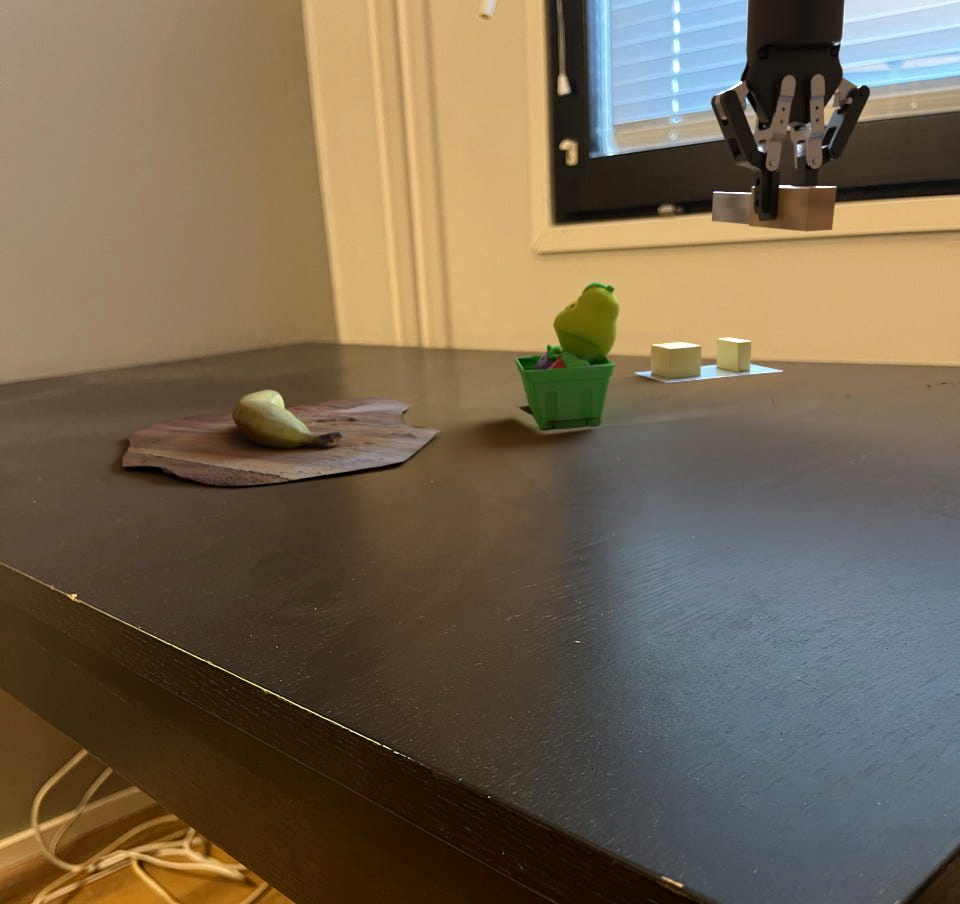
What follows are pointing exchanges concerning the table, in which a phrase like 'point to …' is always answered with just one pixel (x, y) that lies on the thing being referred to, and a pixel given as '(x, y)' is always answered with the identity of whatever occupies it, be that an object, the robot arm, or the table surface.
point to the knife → (780, 208)
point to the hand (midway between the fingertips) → (784, 218)
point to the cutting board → (279, 440)
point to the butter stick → (676, 360)
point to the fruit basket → (574, 362)
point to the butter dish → (711, 373)
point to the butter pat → (734, 354)
